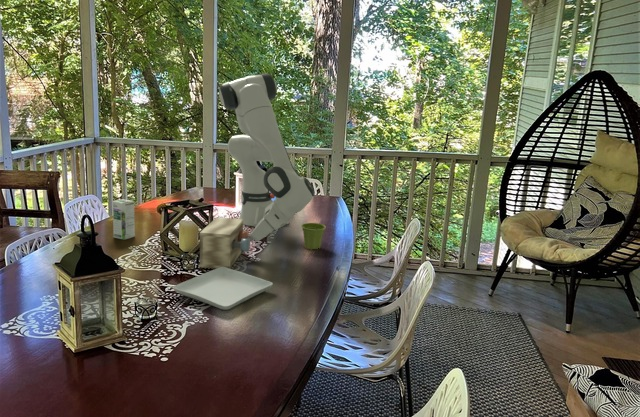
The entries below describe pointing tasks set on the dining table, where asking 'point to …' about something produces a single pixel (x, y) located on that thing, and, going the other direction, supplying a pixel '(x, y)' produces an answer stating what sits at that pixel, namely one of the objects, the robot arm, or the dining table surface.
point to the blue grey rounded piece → (242, 245)
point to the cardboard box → (220, 243)
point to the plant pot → (313, 235)
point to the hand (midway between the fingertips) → (249, 239)
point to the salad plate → (223, 287)
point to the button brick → (243, 235)
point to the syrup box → (123, 219)
